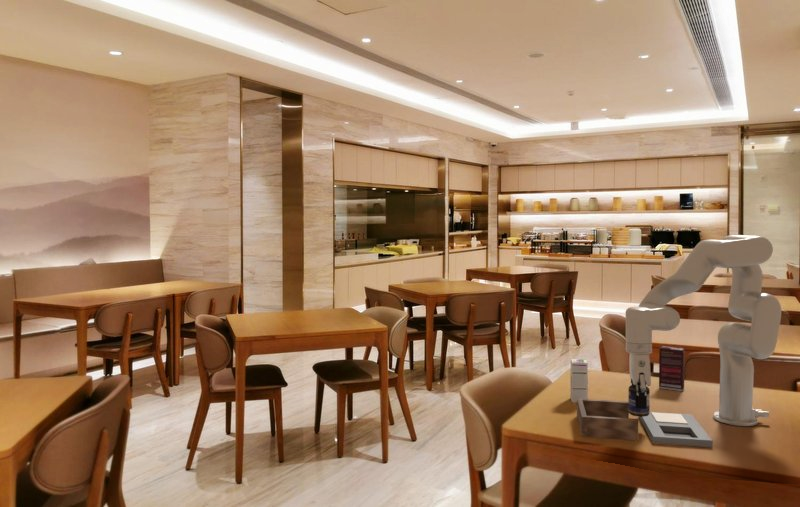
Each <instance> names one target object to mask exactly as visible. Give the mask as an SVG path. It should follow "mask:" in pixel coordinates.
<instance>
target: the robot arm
mask: <svg viewBox="0 0 800 507" xmlns="http://www.w3.org/2000/svg"><path fill="white" fill-rule="evenodd" d="M773 248H774V247H773V243H772V242H771V241H770V240H769V239H768V238H767V237H764V236H760V235H743V234H736V235H735V234H731V235H730V234H729V235H726V236H724V237H722V238H721V239H704V240H700V241H699V242H698V243H697V244H696V245H695V247H693V249H692V250H691V251H690V252H689V254H688V256H686V258H685V259H684V260H683V262H682V263H681V264H680V266H679V268H678V269H677V270H676V271H675V272H674V273H673V274H672V275H670V276H668V277H667V278H665V279H664V280H662V281H661V282H660V283H658V284H656V285H655V286H653V287H652V288H651V289H650V290H649V292H648V293H647V294H646V295H645V296H644V298H642V300H641V301H640V303H639V304H638V306H630V307H628V308H626V310H625V352H626V353H628V354H629V360H628V362H629V363H628V364H629V366H628V367H629V378H630V380H631V379H632V382H633V384H634V385H635V386H636V395H635V407H636V408H644V409H646V408H647V395H646V386H647V387H651V386H652V378H651V373H652V372H651V360H650V355H651V354H653V331H660V332H661V331H662V332H667V331H672V330H674V329H676V328H677V327H678V326H679V325H680V321H681V316H680V313H679V312H678V311H677V310H676V309H675V308H673V307H671V306H668V305H667V304H668V303H669V302H671V301H673V300H675V299H677V298H679V297H682V296H686V295H690V294H693V293H695V292H698V291H699V290H700V289H701V288H702V286H703V285H704V284H705V283H706V281H707V280H708V278H709V277H710V276H711V275H712V273H713V272H714V270H715V269H717V268H721V269H731V272H732V279H731V285H730V286H731V287H730V293H729V298H728V302H727V303H728V305H727V308H728V309H727V310H728V313H729V315H731V316H732V317H733V318H736V319H739V320H741V321H747V322H750V324H751V325H749V324H744V323H740V322H739V323H738V322H729V323H728V322H727V323H726V324H723V325H722V327H721V328H720V329H718V330H719V331H718V333H717V342H718V343H717V344H718V349H719V356H720V363H719V364H720V366H719V367H720V370H719V396H718V411H715V412H714V413H713V419H714V420H715V421H718V422H719V423H722V424H723V423H724V424H727V425H731V426H736V427H737V426H738V427H751V426H756V425H758V422H759V421H758V418H767V419H768V418H770V412H769V411H763V410H762V409H755V408H754V407H753V402H754V401H753V400H754V374H755V368H754V361H753V359H757V360H765V359H768V358H770V357H771V356H772V355H773V353H774V352H775V350H776V347H777V343H778V338H779V331H780V326H781V320H782V306H781V303H780V301H779V299H777V297H775V295H773V294H770V293H767V292H762V288H763V279H764V278H763V277H764V276H763V270H762V267H761V265H762V264H764V263H766V262H767V261H769V260H770V258H771V257H772V255H773V251H774V249H773ZM752 358H753V359H752ZM645 381H646V382H645ZM637 383H640V385H638V384H637ZM638 387H640V388H639V390H638Z"/></svg>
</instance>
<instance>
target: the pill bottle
mask: <svg viewBox="0 0 800 507" xmlns="http://www.w3.org/2000/svg"><path fill="white" fill-rule="evenodd" d="M645 382H646V381H645ZM637 384H638V385H640V383H637ZM639 388H640V387H638V390H639ZM650 391H651V390H650V388H649V386H648V385H646V395H647V408H646V409H644V408H636V407H635V395H636V386H635V385H634V384H633V382H632V379H630V385H629V387H628V400H627V401H628V412H629V414H630V415H631V416H633V417H638V418H639V417H644V416H648V415H649V414H650V412H651V411H650V407H651V406H650V401H651V400H650V399H651V398H650V397H651V396H650Z"/></svg>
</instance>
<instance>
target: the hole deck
mask: <svg viewBox="0 0 800 507" xmlns="http://www.w3.org/2000/svg"><path fill="white" fill-rule="evenodd" d="M649 412H650V414H649V415H648V416H644V417H638V418H639V420H640V422H641V423H642V425H643V427H644V429H645V431H646V432H648V433H647V435H648V434H649V435H648V436H649V439H650V440H651V442H652V444H659V445H673V446H687V447H701V448H702V447H703V448H713V447H714V445H713V443H714V442H713V441H714V440H713V439H712V437H711V436H710V435H709V434H708V433H707V431H706V430H705V429H704V428H703V427H702V426H701V424H700V423H699V421H697V419H696V418H695V417H694V415H693V414H691V413H678V412H675V413H674V412H660V411H658V412H657V411H649Z"/></svg>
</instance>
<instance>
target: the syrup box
mask: <svg viewBox="0 0 800 507" xmlns="http://www.w3.org/2000/svg"><path fill="white" fill-rule="evenodd" d="M587 361H588V360H586V359H584V358H583V359H582V358H570V402H571V403H576V404H577V399H588V398H589V390H588V389H589V386H588V385H589V383H588V382H589V378H588V377H589V375H588V373H589V371H588V369H589V368H588V367H589V366H588V362H587Z"/></svg>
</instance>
